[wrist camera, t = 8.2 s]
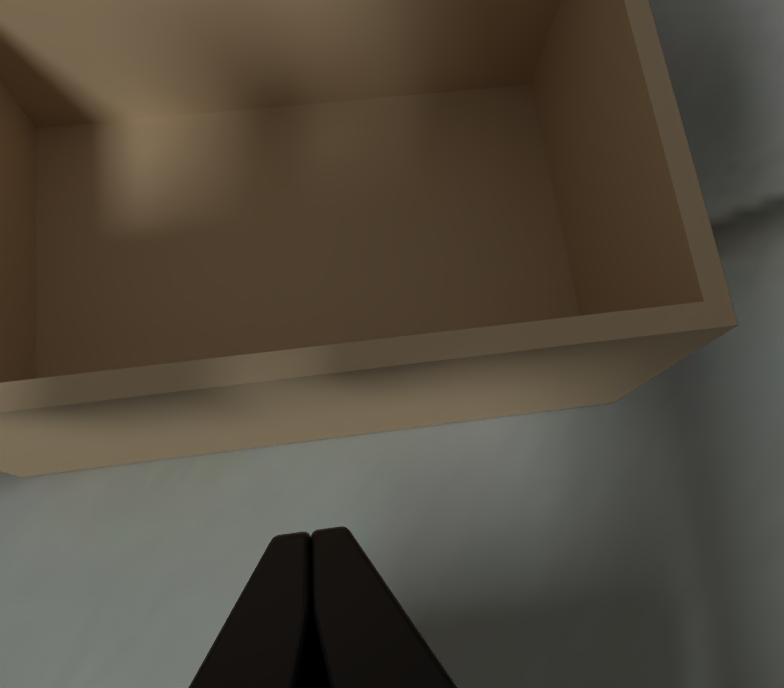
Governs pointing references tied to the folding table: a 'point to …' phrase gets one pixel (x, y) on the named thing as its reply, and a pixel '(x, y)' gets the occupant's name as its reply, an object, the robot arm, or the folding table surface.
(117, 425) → the carton
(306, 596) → the robot arm
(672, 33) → the folding table surface
